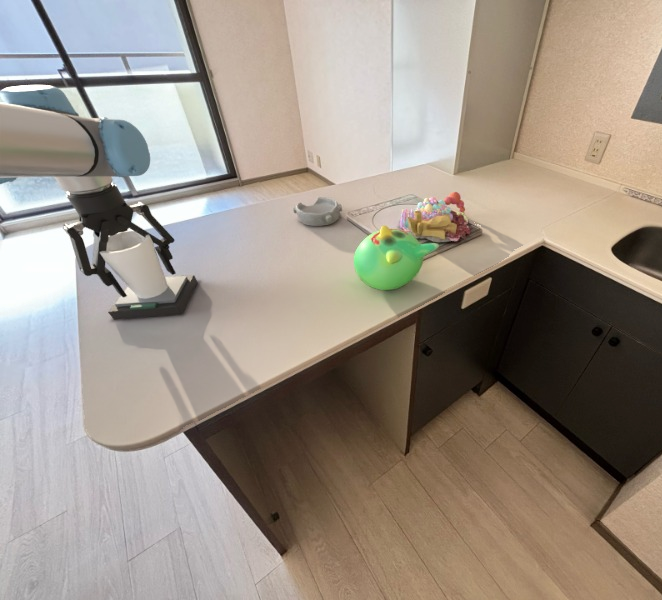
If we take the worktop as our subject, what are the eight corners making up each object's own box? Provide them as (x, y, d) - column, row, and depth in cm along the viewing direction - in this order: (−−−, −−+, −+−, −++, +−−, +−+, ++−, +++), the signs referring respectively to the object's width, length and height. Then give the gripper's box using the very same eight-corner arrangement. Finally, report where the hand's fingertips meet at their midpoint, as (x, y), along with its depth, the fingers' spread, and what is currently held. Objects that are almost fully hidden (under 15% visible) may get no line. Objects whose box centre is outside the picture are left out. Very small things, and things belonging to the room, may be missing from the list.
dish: (290, 221, 109) (287, 207, 106) (317, 206, 118) (315, 192, 115) (323, 232, 104) (321, 218, 101) (349, 216, 113) (348, 202, 110)
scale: (113, 319, 72) (105, 309, 70) (137, 286, 81) (131, 276, 79) (181, 314, 74) (175, 303, 72) (197, 282, 83) (193, 272, 81)
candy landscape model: (475, 246, 101) (480, 218, 94) (399, 244, 100) (400, 216, 94) (463, 210, 119) (467, 185, 113) (399, 208, 119) (400, 183, 113)
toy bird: (393, 256, 95) (394, 209, 85) (436, 282, 86) (443, 233, 76) (343, 281, 85) (338, 231, 76) (386, 313, 76) (387, 261, 67)
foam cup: (183, 286, 76) (158, 238, 68) (142, 308, 70) (109, 258, 62) (160, 273, 80) (134, 225, 72) (120, 292, 74) (85, 243, 66)
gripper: (145, 166, 68) (188, 255, 83) (1, 201, 54) (83, 301, 69) (163, 174, 65) (204, 266, 79) (14, 214, 51) (97, 316, 65)
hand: (148, 282), depth 74 cm, fingers open, 10 cm apart
